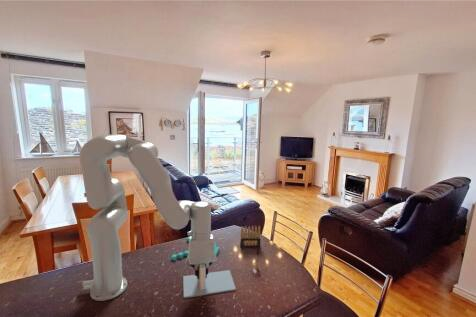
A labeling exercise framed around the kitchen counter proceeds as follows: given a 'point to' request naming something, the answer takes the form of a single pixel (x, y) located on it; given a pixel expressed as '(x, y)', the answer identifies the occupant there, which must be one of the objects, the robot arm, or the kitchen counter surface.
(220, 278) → the mat
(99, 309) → the kitchen counter surface
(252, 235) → the ammunition clip
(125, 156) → the robot arm
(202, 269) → the tile
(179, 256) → the alien figure
